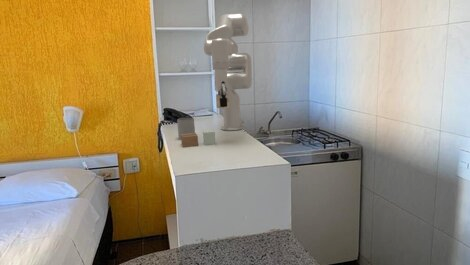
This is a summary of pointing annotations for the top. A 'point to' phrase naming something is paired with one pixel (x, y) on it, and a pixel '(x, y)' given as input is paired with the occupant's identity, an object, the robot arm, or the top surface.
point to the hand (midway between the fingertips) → (222, 105)
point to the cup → (185, 126)
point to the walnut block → (189, 140)
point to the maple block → (219, 101)
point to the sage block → (209, 137)
